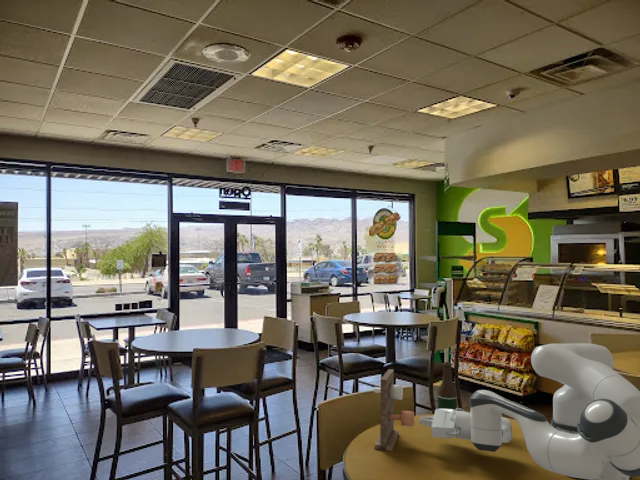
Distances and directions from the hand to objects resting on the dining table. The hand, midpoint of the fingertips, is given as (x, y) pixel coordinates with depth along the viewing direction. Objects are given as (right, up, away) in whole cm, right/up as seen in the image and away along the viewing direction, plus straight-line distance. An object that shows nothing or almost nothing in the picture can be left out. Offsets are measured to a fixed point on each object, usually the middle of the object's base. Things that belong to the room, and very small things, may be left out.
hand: (419, 420), depth 169 cm
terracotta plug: (-7, -2, +2) cm, 8 cm away
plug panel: (-11, -9, +4) cm, 15 cm away
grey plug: (-11, +7, +4) cm, 13 cm away
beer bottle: (+16, -10, +23) cm, 30 cm away
